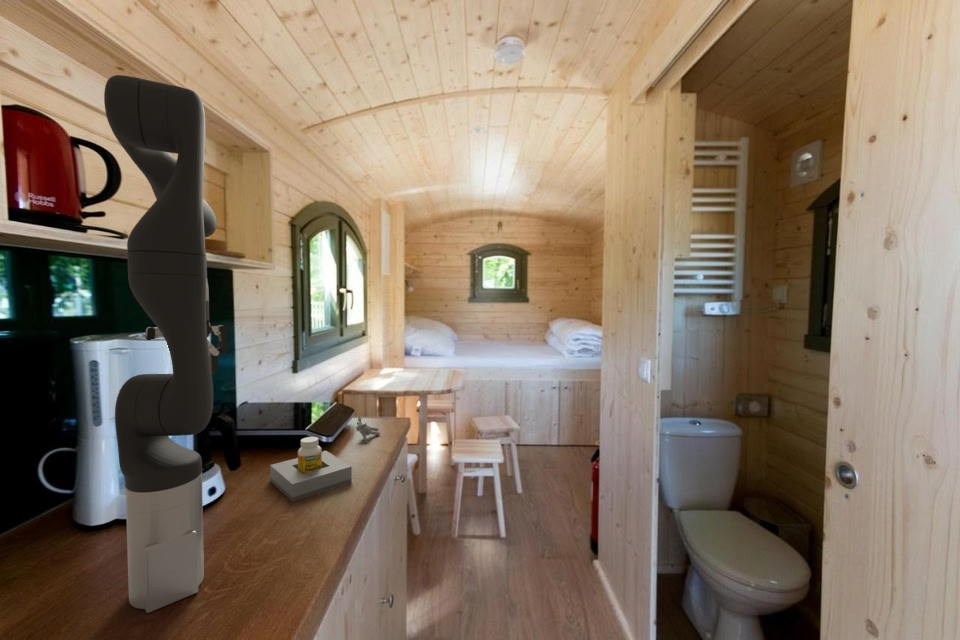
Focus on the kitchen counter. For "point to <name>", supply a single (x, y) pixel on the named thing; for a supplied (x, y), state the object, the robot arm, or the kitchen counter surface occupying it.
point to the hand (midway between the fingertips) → (188, 374)
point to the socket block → (310, 477)
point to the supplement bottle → (309, 455)
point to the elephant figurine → (366, 429)
